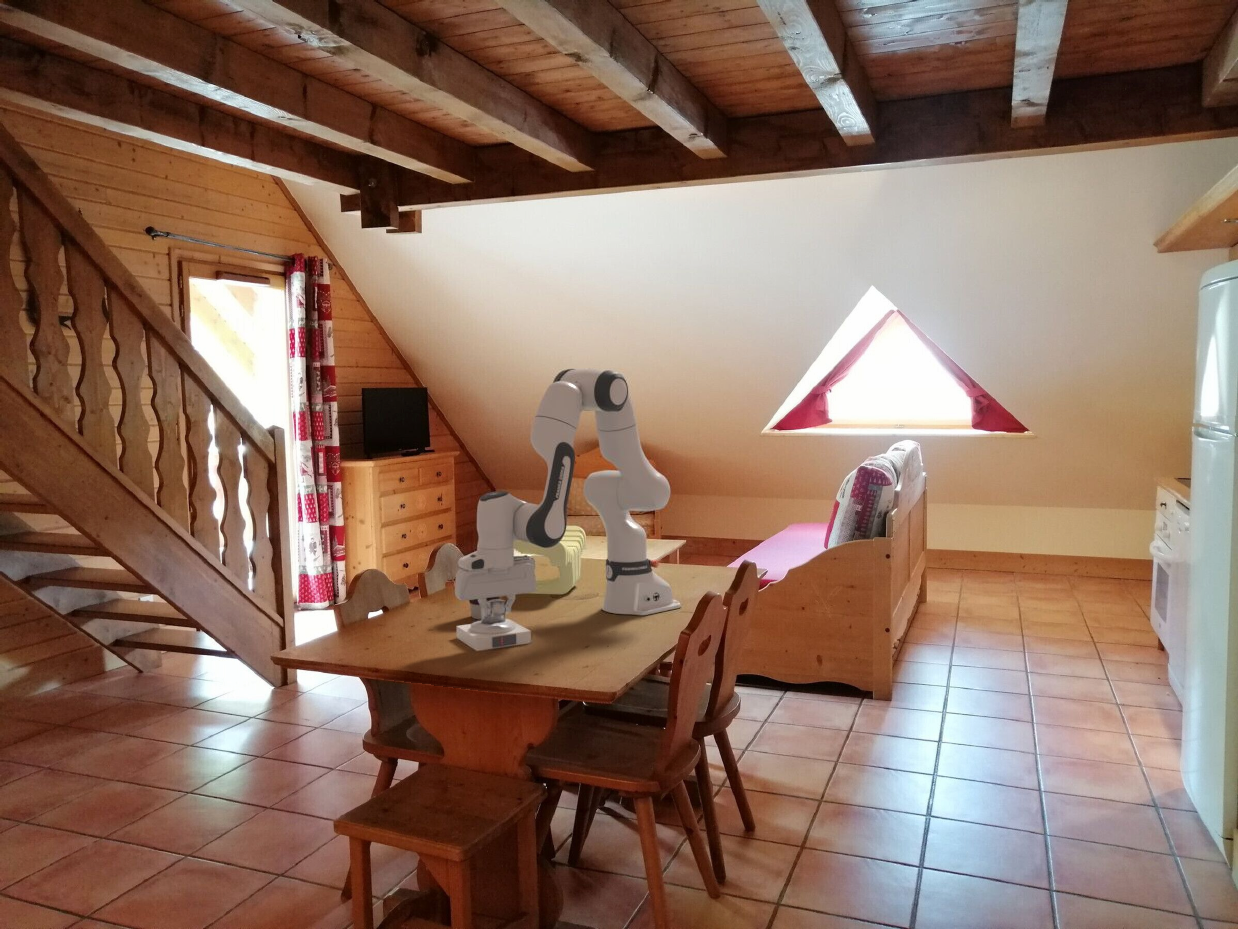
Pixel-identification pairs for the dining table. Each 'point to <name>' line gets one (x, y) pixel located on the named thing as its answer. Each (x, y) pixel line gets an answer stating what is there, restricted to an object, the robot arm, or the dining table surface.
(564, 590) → the slatted curved stool
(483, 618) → the cylinder
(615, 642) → the dining table surface
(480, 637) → the scale
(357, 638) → the dining table surface
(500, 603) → the cylinder
